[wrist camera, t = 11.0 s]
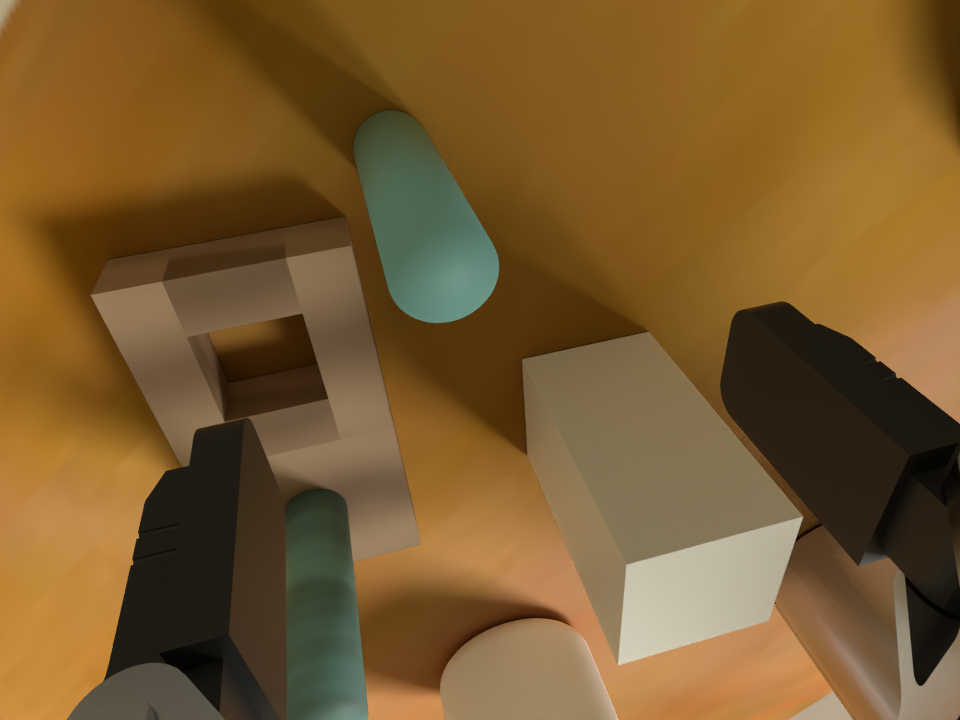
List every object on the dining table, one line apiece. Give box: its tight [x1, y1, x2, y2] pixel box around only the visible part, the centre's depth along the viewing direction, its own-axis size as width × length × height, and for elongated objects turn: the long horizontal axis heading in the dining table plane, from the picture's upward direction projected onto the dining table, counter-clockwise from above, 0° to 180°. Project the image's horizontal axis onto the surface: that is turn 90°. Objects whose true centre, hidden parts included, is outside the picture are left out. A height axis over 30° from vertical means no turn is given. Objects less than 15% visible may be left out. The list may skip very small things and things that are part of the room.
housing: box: [522, 332, 803, 665], centre depth 26 cm, size 6×6×11 cm
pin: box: [353, 110, 499, 323], centre depth 18 cm, size 3×3×9 cm
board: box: [267, 396, 421, 720], centre depth 25 cm, size 8×8×11 cm
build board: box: [91, 216, 394, 467], centre depth 23 cm, size 8×8×2 cm
